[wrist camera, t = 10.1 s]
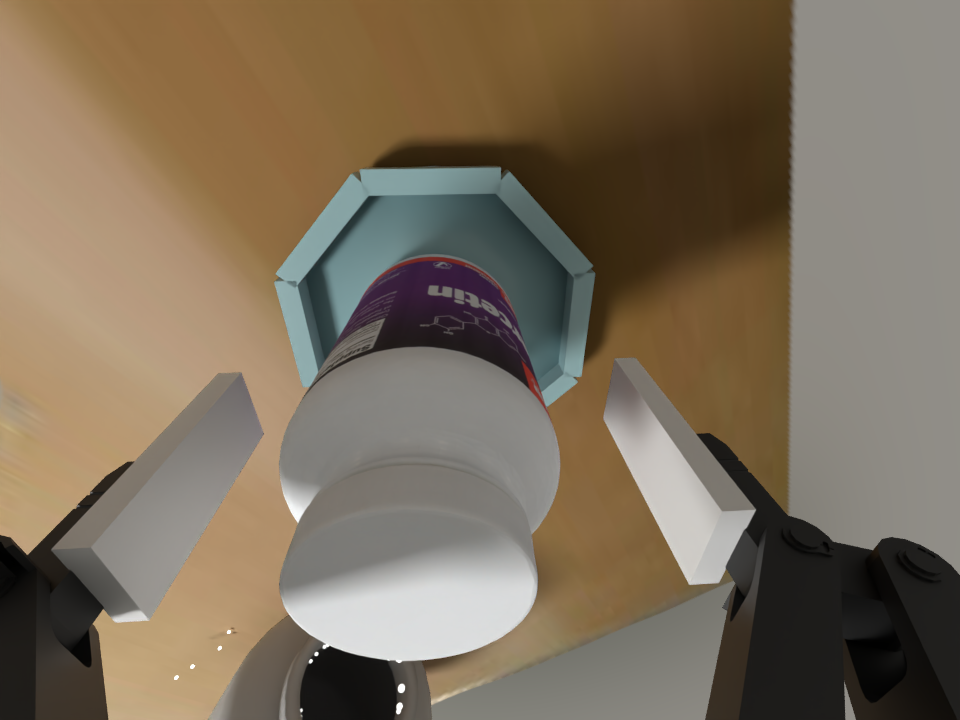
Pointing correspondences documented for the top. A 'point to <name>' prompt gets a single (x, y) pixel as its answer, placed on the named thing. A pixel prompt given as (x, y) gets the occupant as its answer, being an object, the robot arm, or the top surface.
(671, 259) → the top surface
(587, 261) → the dish
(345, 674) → the jar
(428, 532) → the pill bottle
